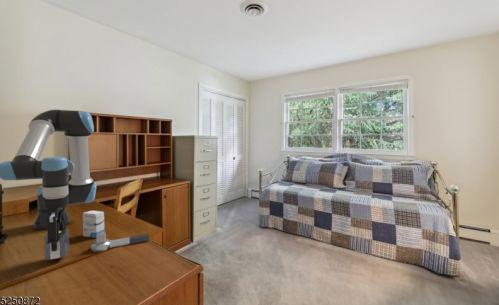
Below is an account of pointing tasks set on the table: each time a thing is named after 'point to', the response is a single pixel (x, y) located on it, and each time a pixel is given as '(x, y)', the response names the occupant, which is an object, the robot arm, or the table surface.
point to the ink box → (93, 223)
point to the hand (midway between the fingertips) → (58, 253)
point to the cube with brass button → (63, 244)
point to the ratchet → (116, 241)
